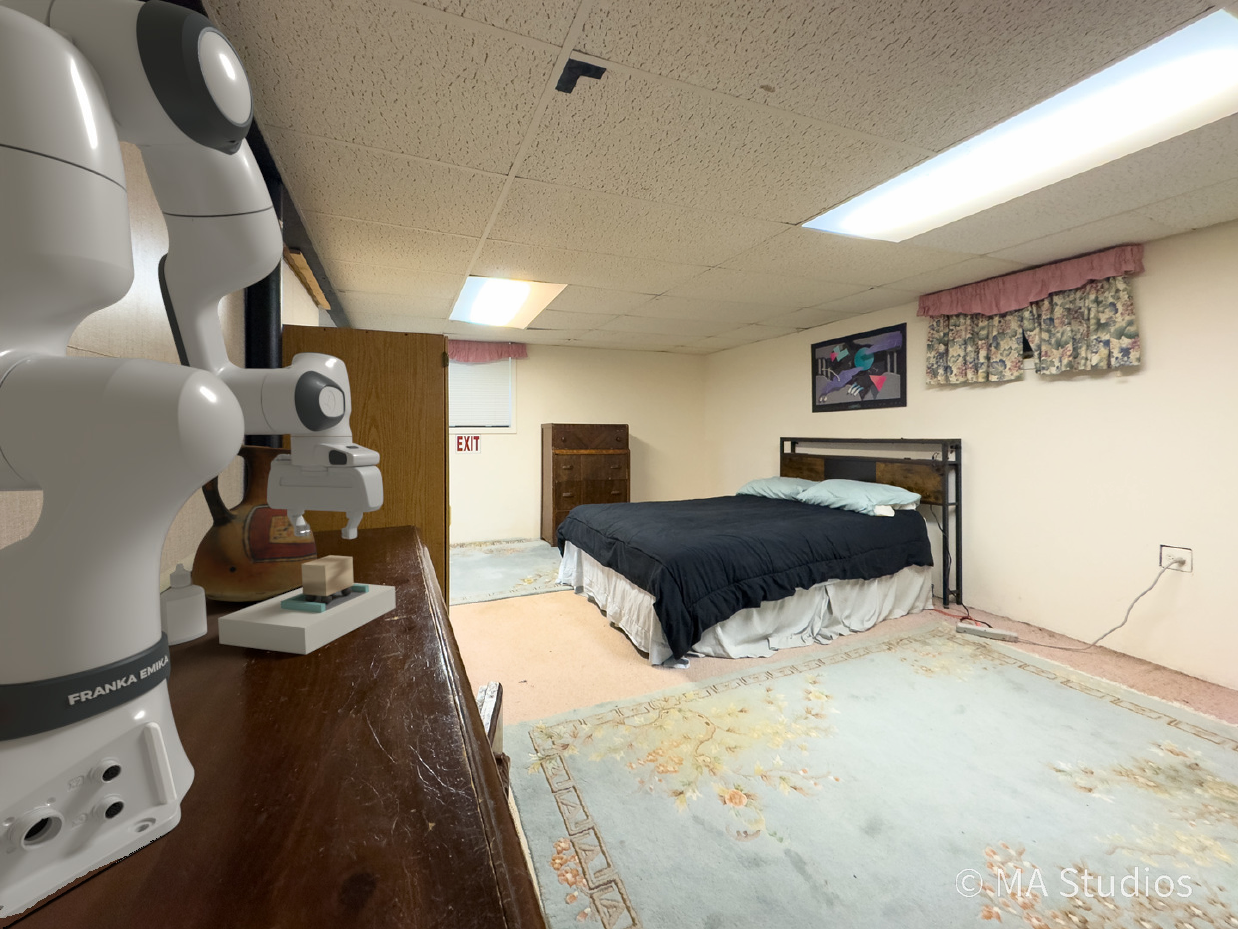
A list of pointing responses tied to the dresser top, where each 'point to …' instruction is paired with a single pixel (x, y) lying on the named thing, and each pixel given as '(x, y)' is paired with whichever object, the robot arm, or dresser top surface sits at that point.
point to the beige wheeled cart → (327, 577)
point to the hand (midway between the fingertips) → (325, 537)
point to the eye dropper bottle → (183, 608)
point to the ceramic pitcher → (250, 540)
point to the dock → (304, 619)
